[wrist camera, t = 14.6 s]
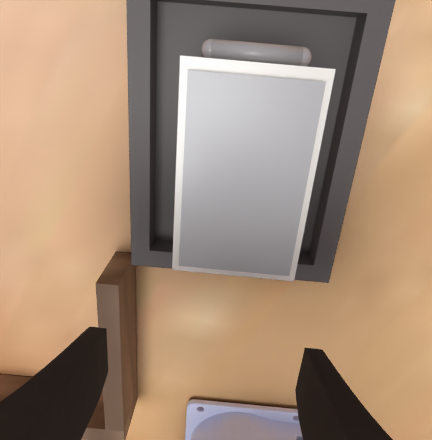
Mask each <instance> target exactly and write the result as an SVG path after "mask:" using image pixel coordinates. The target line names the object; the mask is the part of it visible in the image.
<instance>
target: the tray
mask: <svg viewBox="0 0 432 440" xmlns="http://www.w3.org/2000/svg"><path fill="white" fill-rule="evenodd" d="M394 4H395V0H127V52H128V106H129V159H130V212H131V265H139V266H150V267H161V268H172V259H173V232H174V206H175V179H176V152H177V126H178V99H179V72H180V56H192V57H203V58H205V57H204V56H203V54H202V45H203V43H204V42H205V41H206V40H208V39H221V40H233V41H244V42H256V43H267V44H279V45H290V46H302V47H306V48H308V49H309V50H310V52H311V61H310V63H309V64H308V65H307V66H306V67H317V68H328V69H336V70H335V75H334V80H333V86H332V91H331V96H330V101H329V106H328V111H327V116H326V121H325V126H324V131H323V137H322V142H321V147H320V152H319V157H318V162H317V167H316V172H315V177H314V182H313V187H312V193H311V198H310V203H309V208H308V213H307V218H306V223H305V228H304V233H303V238H302V244H301V249H300V254H299V259H298V264H297V269H296V274H295V279H294V280H304V281H315V282H326V283H329V279H330V275H331V270H332V266H333V262H334V258H335V253H336V249H337V245H338V241H339V237H340V232H341V228H342V224H343V220H344V215H345V211H346V207H347V203H348V198H349V194H350V190H351V186H352V182H353V177H354V173H355V169H356V165H357V160H358V156H359V152H360V148H361V143H362V139H363V135H364V131H365V127H366V122H367V118H368V114H369V110H370V105H371V101H372V97H373V93H374V89H375V84H376V80H377V76H378V72H379V67H380V63H381V59H382V55H383V50H384V46H385V42H386V38H387V34H388V29H389V25H390V21H391V17H392V12H393V8H394Z"/></svg>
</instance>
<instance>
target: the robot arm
mask: <svg viewBox="0 0 432 440" xmlns="http://www.w3.org/2000/svg"><path fill="white" fill-rule="evenodd" d="M107 374H108V351H107V328H97V327H89V328H88V329H86V330H85V331H84V332H83V333H82V334H81V335H80V336H79V337H78V338H77V339H76V340H75V341H74V342H72V343H71V344H70V345H69V346H68V347H67V348H66V349H65V350H64V351H63V352H62V353H60V354H59V355H58V356H57V357H56V358H55V359H54V360H52V361H51V362H50V363H49V364H48V365H47V366H46V367H44V368H43V369H42V370H41V371H40V372H38V373H37V374H36V375H35V376H33V377H32V378H31V379H30V380H28V381H27V382H26V383H25V384H23V385H22V386H21V387H20V388H18V389H17V390H16V391H14V392H13V393H11V394H10V395H9V396H7V397H6V398H5V399H3V400H2V401H0V440H81V439H82V437H83V435H84V432H85V430H86V428H87V426H88V424H89V422H90V419H91V417H92V415H93V413H94V410H95V408H96V406H97V404H98V401H99V399H100V396H101V393H102V390H103V387H104V384H105V381H106V377H107ZM295 391H296V401H297V409H291V408H280V407H270V406H259V405H249V404H238V403H228V402H217V401H207V400H196V399H192V400H190V401H189V402H188V404H187V416H186V431H185V440H393V439H392V438H391V437H390V436H389V435H388V434H387V433H386V432H385V431H384V430H383V429H382V427H381V426H380V425H379V424H378V423H377V422H376V421H375V419H374V418H373V417H372V416H371V415H370V413H369V412H368V411H367V410H366V408H365V407H364V406H363V405H362V404H361V402H360V401H359V400H358V398H357V397H356V396H355V394H354V393H353V392H352V391H351V389H350V388H349V387H348V385H347V384H346V383H345V381H344V380H343V378H342V377H341V376H340V374H339V373H338V371H337V370H336V369H335V367H334V366H333V364H332V363H331V361H330V360H329V359H328V357H327V356H326V354H325V353H324V352H323V350H321V349H311V348H305V350H304V355H303V359H302V363H301V368H300V372H299V376H298V381H297V385H296V390H295ZM200 406H201V407H200Z"/></svg>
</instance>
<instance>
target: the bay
mask: <svg viewBox="0 0 432 440" xmlns="http://www.w3.org/2000/svg"><path fill="white" fill-rule="evenodd" d="M96 295H97V310H98V325H99V328H107V351H108V374H107V377H106V381H105V384H104V387H103V390H102V393H101V396H100V399H99V401H98V404H97V406H96V408H95V410H94V413H93V415H92V417H91V419H90V422H89V424H88V426H87V428H86V430H85V432H84V435H83V437H82V439H81V440H125V439H126V436H127V433H128V429H129V426H130V422H131V419H132V415H133V412H134V409H135V405H136V402H137V339H136V267H135V265H131V253H124V252H115V254H114V256H113V257H112V259H111V260H110V262H109V263H108V265H107V267H106V268H105V270H104V271H103V273H102V274H101V276H100V277H99V279H98V281H97V282H96ZM31 378H32V377H26V376H15V375H5V374H0V401H2V400H3V399H5V398H6V397H7V396H9V395H10V394H11V393H13V392H14V391H16V390H17V389H18V388H20V387H21V386H22V385H23V384H25V383H26V382H27V381H28V380H30V379H31Z"/></svg>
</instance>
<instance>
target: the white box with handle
mask: <svg viewBox="0 0 432 440" xmlns="http://www.w3.org/2000/svg"><path fill="white" fill-rule="evenodd" d="M202 54H203V56H204V57H205V58H203V57H192V56H180V72H179V99H178V126H177V152H176V179H175V206H174V232H173V259H172V270H179V271H190V272H200V273H211V274H221V275H232V276H243V277H253V278H264V279H274V280H285V281H294V279H295V274H296V269H297V264H298V259H299V254H300V249H301V244H302V238H303V233H304V228H305V223H306V218H307V213H308V208H309V203H310V198H311V193H312V187H313V182H314V177H315V172H316V167H317V162H318V157H319V152H320V147H321V142H322V137H323V131H324V126H325V121H326V116H327V111H328V106H329V101H330V96H331V91H332V86H333V80H334V75H335V70H336V69H328V68H317V67H306V66H307V65H308V64H309V63H310V61H311V52H310V50H309V49H308V48H306V47H302V46H290V45H279V44H267V43H256V42H244V41H233V40H221V39H208V40H206V41H205V42H204V43H203V45H202Z"/></svg>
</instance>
